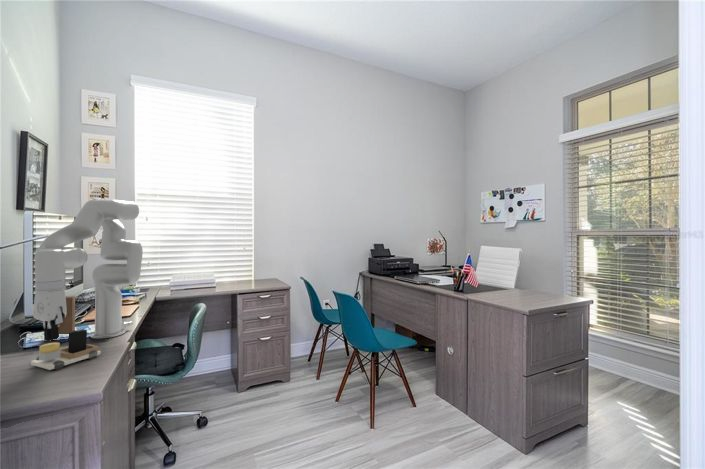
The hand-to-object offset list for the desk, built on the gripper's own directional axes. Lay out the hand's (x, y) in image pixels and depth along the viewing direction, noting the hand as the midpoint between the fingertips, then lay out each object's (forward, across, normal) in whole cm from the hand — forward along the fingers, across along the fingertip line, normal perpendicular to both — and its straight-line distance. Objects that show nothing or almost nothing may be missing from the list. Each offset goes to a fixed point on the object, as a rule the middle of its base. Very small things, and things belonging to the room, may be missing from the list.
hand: (51, 339), depth 109 cm
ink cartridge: (+8, 0, +7) cm, 11 cm away
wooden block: (+10, -30, +17) cm, 36 cm away
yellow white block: (+6, 0, -1) cm, 6 cm away
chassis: (+9, 0, +4) cm, 10 cm away
